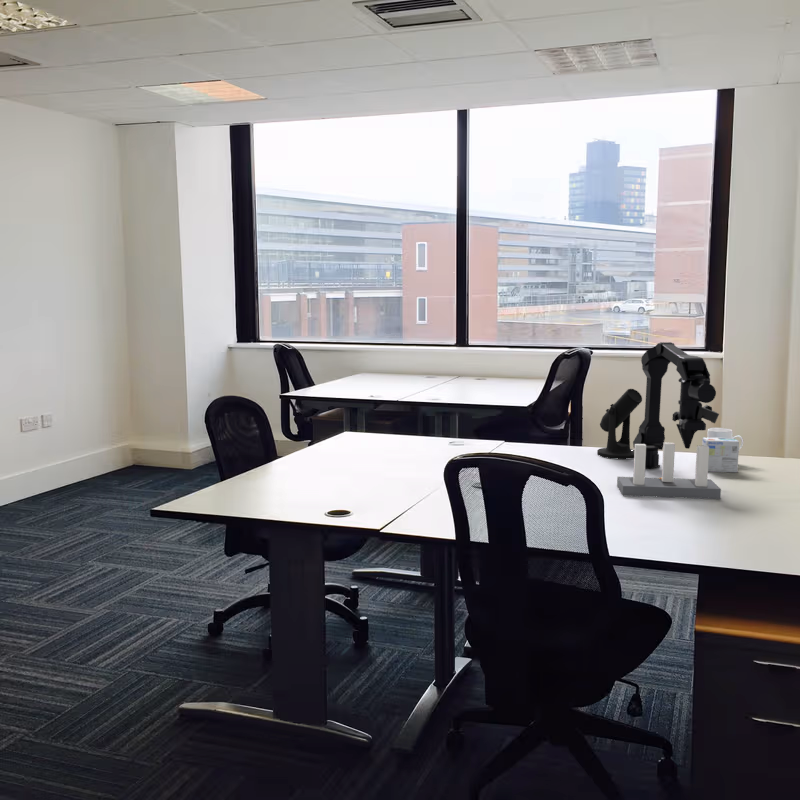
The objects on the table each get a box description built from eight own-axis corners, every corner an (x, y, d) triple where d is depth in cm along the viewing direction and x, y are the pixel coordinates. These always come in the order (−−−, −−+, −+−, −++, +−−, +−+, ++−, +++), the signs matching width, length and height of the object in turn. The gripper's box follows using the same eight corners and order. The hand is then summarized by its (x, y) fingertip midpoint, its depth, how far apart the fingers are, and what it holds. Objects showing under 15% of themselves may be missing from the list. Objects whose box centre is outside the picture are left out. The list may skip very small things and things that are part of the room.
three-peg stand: (617, 485, 261) (619, 438, 259) (710, 488, 258) (713, 440, 255) (622, 495, 249) (624, 446, 247) (720, 499, 246) (723, 448, 244)
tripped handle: (661, 480, 255) (663, 442, 253) (671, 480, 254) (673, 442, 253) (662, 481, 253) (664, 443, 251) (673, 482, 252) (675, 443, 251)
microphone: (622, 461, 296) (625, 391, 292) (586, 453, 310) (589, 386, 307) (650, 457, 304) (654, 388, 300) (615, 448, 318) (617, 383, 315)
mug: (703, 462, 296) (705, 430, 294) (708, 458, 303) (710, 426, 301) (740, 466, 290) (742, 433, 288) (743, 461, 297) (745, 429, 295)
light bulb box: (732, 468, 286) (734, 437, 285) (738, 472, 280) (740, 441, 278) (700, 467, 287) (701, 436, 286) (705, 472, 281) (707, 440, 279)
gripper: (725, 403, 247) (722, 455, 249) (709, 394, 265) (706, 443, 267) (686, 402, 248) (683, 454, 250) (673, 394, 267) (670, 442, 269)
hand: (687, 448), depth 259 cm, fingers closed
